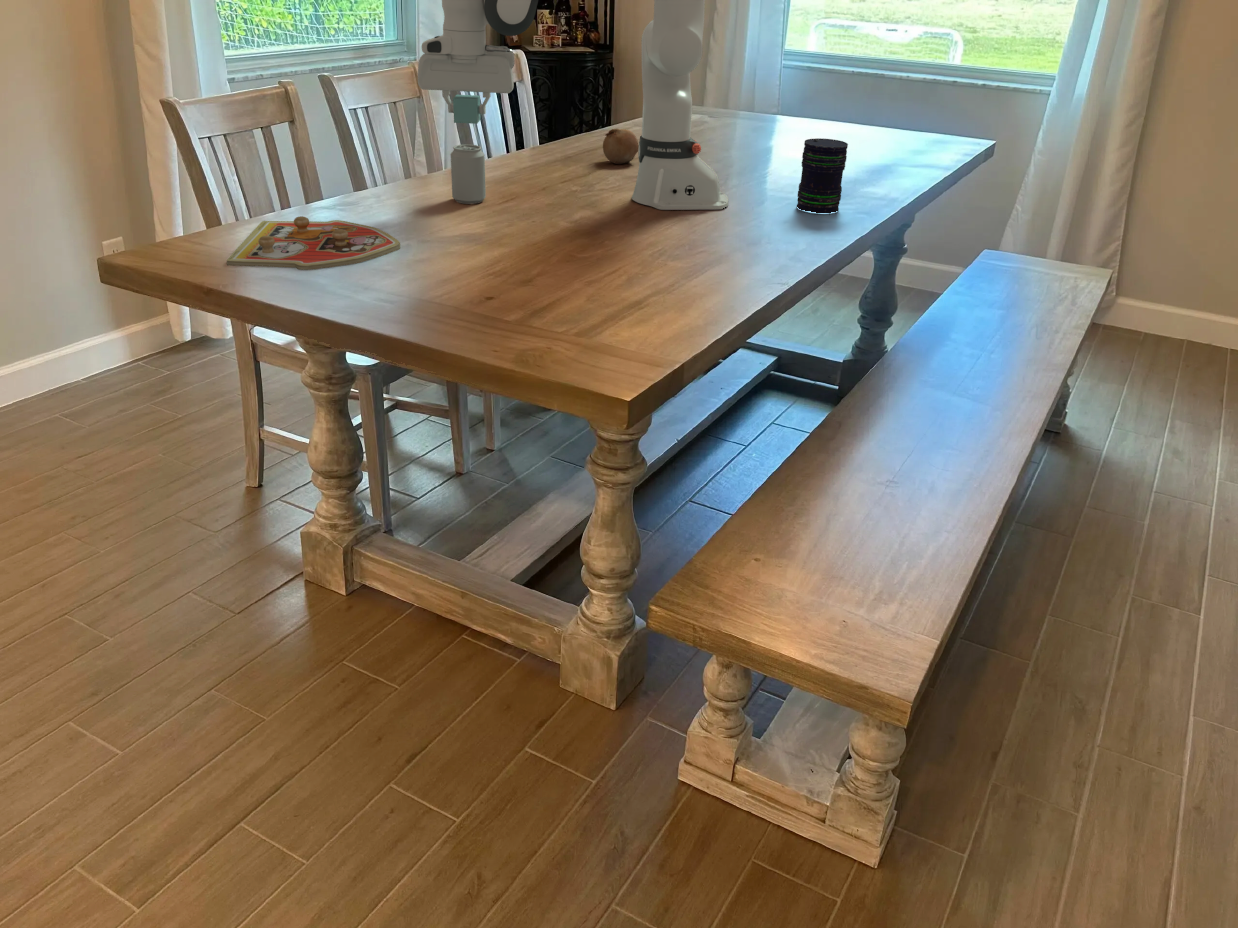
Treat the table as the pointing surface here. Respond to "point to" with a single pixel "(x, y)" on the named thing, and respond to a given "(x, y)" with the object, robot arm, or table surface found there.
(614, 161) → the onion
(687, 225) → the table surface
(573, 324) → the table surface
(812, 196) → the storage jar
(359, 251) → the knob puzzle
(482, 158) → the can
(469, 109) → the teal block
